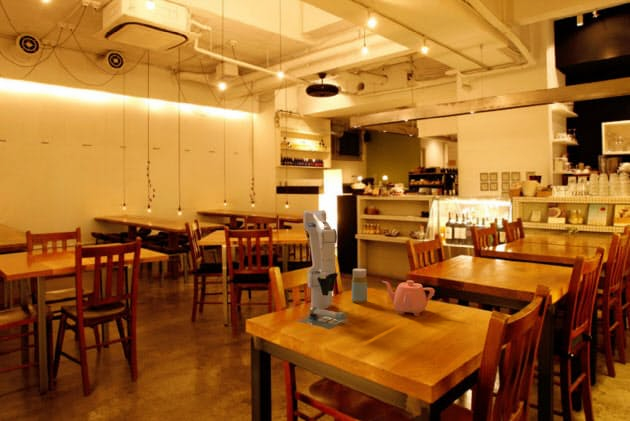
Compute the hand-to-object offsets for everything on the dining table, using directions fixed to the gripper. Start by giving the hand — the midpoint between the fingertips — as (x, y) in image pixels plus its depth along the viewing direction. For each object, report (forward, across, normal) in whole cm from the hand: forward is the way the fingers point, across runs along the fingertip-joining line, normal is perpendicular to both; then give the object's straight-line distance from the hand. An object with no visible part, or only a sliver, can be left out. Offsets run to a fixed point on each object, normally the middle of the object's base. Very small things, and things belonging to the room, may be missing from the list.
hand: (327, 293), depth 175 cm
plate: (+10, +5, 0) cm, 12 cm away
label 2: (+10, +6, +5) cm, 12 cm away
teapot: (+11, -18, +30) cm, 36 cm away
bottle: (+10, -29, +7) cm, 32 cm away
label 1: (+10, +4, 0) cm, 10 cm away
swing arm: (+9, +4, +1) cm, 10 cm away
